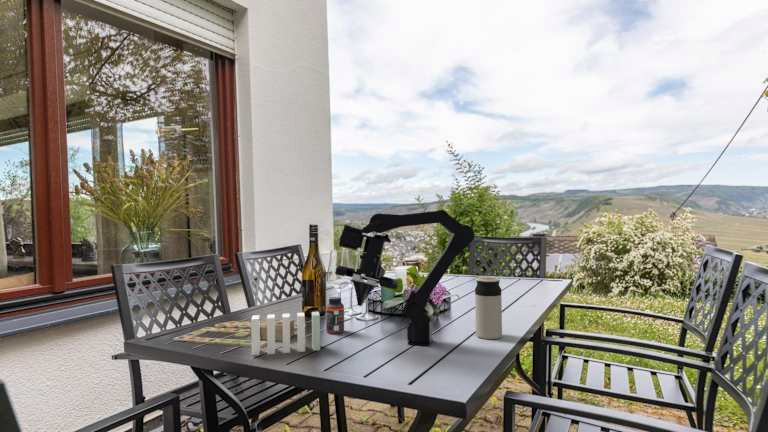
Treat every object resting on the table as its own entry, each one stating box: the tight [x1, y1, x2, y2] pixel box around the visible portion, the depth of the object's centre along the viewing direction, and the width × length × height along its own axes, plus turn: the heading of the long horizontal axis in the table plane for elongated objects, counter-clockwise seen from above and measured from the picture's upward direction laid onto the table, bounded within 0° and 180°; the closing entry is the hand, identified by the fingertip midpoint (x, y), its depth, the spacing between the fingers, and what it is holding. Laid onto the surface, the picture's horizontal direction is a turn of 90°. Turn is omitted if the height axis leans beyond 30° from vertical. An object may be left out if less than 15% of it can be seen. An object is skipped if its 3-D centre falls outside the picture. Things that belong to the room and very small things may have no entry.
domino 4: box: [296, 312, 306, 353], centre depth 129 cm, size 2×5×10 cm, turn 12°
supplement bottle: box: [325, 296, 345, 335], centre depth 147 cm, size 6×6×11 cm
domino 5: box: [311, 311, 321, 352], centre depth 130 cm, size 2×5×10 cm, turn 12°
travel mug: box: [474, 276, 503, 340], centre depth 139 cm, size 8×8×18 cm
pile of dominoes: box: [172, 318, 307, 349], centre depth 148 cm, size 35×27×6 cm
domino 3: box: [281, 313, 291, 354], centre depth 128 cm, size 2×5×10 cm, turn 12°
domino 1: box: [250, 314, 261, 356], centre depth 126 cm, size 2×5×10 cm, turn 12°
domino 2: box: [266, 313, 276, 355], centre depth 127 cm, size 2×5×10 cm, turn 12°
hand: (359, 305), depth 132 cm, fingers closed
